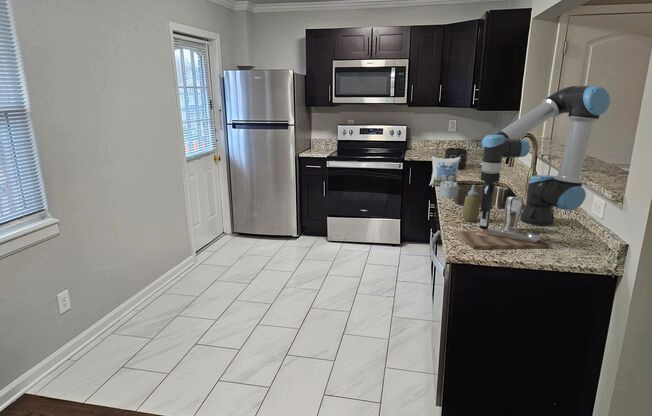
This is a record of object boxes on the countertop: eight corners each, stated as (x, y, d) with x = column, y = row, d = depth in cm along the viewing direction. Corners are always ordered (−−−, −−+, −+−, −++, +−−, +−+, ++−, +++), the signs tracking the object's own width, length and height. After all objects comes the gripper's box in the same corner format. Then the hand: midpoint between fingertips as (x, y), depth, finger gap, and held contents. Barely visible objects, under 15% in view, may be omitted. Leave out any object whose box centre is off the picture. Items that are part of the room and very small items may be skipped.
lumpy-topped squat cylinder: (457, 194, 260) (458, 180, 258) (456, 199, 248) (457, 184, 246) (440, 192, 264) (441, 179, 261) (438, 197, 252) (439, 183, 249)
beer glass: (498, 228, 197) (503, 197, 193) (510, 226, 199) (514, 196, 195) (510, 232, 191) (514, 200, 187) (521, 231, 193) (526, 199, 189)
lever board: (522, 232, 192) (523, 228, 191) (548, 247, 173) (549, 244, 172) (455, 233, 189) (455, 229, 189) (473, 249, 170) (474, 245, 170)
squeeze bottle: (465, 216, 214) (469, 182, 209) (480, 220, 209) (485, 184, 204) (458, 220, 208) (462, 184, 203) (474, 223, 203) (479, 187, 198)
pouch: (428, 184, 287) (430, 155, 281) (456, 185, 285) (459, 155, 280) (430, 186, 279) (432, 156, 273) (459, 187, 278) (462, 157, 272)
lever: (540, 240, 176) (545, 208, 172) (538, 244, 172) (544, 211, 168) (480, 230, 188) (483, 199, 184) (477, 233, 184) (481, 202, 180)
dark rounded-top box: (460, 171, 335) (462, 151, 331) (439, 167, 347) (441, 148, 343) (470, 168, 348) (472, 149, 344) (450, 165, 360) (452, 147, 355)
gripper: (485, 167, 186) (479, 218, 193) (477, 173, 173) (471, 227, 179) (503, 169, 183) (496, 220, 189) (496, 176, 169) (489, 231, 175)
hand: (484, 224), depth 184 cm, fingers closed on lever, 4 cm apart
